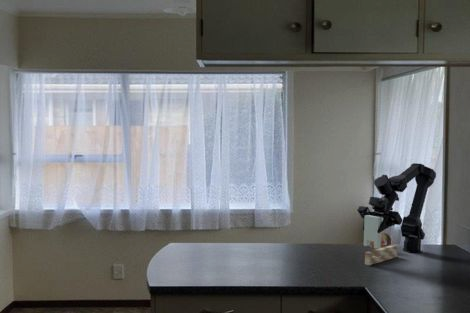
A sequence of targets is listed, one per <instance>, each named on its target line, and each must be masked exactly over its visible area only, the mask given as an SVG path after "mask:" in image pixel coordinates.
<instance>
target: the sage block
mask: <svg viewBox="0 0 470 313" xmlns="http://www.w3.org/2000/svg"><path fill="white" fill-rule="evenodd" d="M382 221H383V218H382V217H377V216H371V215H366V216H365V219H363V223H364V230H363V246H364V247H369V245H370V241H373V242H374V248H381V232H380V233H378V232H377V231H378V228H379V227H380V225H381V223H382Z"/></svg>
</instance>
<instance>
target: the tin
mask: <svg viewBox="0 0 470 313" xmlns="http://www.w3.org/2000/svg"><path fill="white" fill-rule="evenodd" d="M390 245H392V239H391V236H390V235H389V233H387V232H383V231H382V232H381V248H383V247H386V246H390ZM368 248H370V249H372V250H375V249H379V248H374V242H373V241H370V245H369V246H368Z"/></svg>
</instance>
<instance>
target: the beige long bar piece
mask: <svg viewBox="0 0 470 313" xmlns="http://www.w3.org/2000/svg"><path fill="white" fill-rule="evenodd" d="M372 250H373V251H365V252H364V265H365V266H372V265H374V264H378V263H382V262H384V261H388V260H391V259H395V258H398V245H397V244H391V245H390V246H386V247H383V248H379V249H372Z"/></svg>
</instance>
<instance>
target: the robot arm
mask: <svg viewBox="0 0 470 313" xmlns="http://www.w3.org/2000/svg"><path fill="white" fill-rule="evenodd" d="M436 178H437V173H436V171H435V170H434V168H431V167H429V166H425V165H424V164H422V163H416V162H413V163H411V164H410V166H409V167H408V168H406V169H405V170H404V171H402V172H401V173H400V174H397V175H394V176H391V177H389V176H388V175H387V174H382V175H381V176H378V177H377V178H376V179H374V182H373V184H374V186H375V188H376V189H377V192H378V193H379V194H380V195H381V197H376V196H370V197H369V200H368V202H367V203H368V205H370V206H371V209H372V210H370V208H369V207H368V206H364V205H360V206H358V208H357V210H356V211H357V212H358V214H359V216H360V217H361V219H363V220H364V219H365V216H366V215H371V216H377V217H382V223H381V225H380V227H379V228H378V231H377V232H378V233H380V232H383V231H385V230H386V229H388V228H390V227H393V226H395V225H396V226H400V233H401V237H404V240H403V248H402V250H403V251H404V252H407V253H410V254H411V253H423V250H422V247H421V246H422V240H423V241H424V239H425V237H426V233H425V232H424V230H423V222H422V220H421V219H422V218H421V215H422V211H423V208H424V204H425V200H426V197H427V192H428V190H429V188H430V187H431V186H433V184H434V182H435V179H436ZM412 180H415V183H416V187H415V190H414V191H415V192H414V195H413V197H412V198H413V199H412V202H411V206H410V210H409V212H408V215H407V216H404V217H403V218H402V216H401V214H400V213H399V211H394V207H393V206H394V204H395V203H396V201H397V202H398V201H400V197H399V194H398V193H403V192H404V191H405V190H406V189H407V188H408V183H409V182H411V181H412ZM362 224H363V225H362V229H363V231H364V222H363V223H362Z"/></svg>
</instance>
